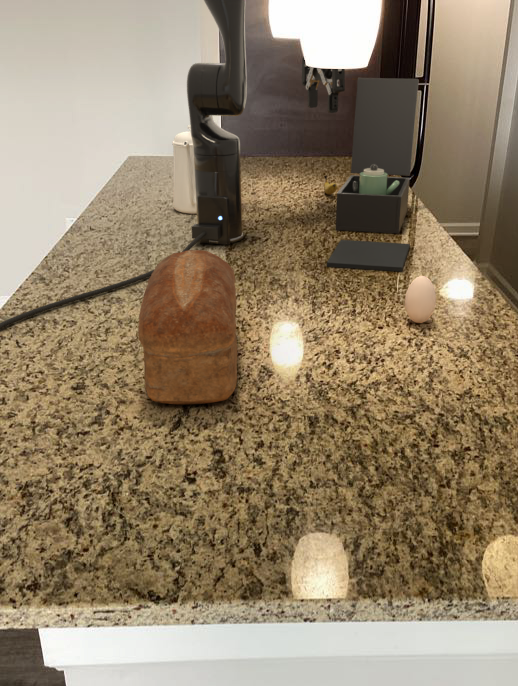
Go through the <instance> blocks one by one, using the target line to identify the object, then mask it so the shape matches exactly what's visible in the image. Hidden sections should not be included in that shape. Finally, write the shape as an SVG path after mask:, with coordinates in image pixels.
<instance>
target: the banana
mask: <svg viewBox="0 0 518 686" xmlns="http://www.w3.org/2000/svg"><path fill="white" fill-rule="evenodd" d="M323 177H324V181H325V182H324V184H323V191H324V193H325V194H326V195H330V196H331V195H332V194H334V193H335V192H336V191H337V190H338V185H337V183H336V182H332V183H329V180H328V175H324V176H323Z"/></svg>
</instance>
